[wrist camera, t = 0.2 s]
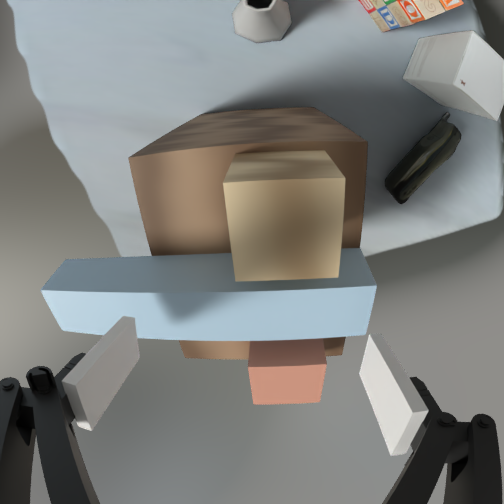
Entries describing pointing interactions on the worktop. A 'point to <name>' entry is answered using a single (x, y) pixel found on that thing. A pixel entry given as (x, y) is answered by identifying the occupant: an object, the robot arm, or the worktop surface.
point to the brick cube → (287, 371)
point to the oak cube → (284, 215)
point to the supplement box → (459, 73)
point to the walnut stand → (212, 192)
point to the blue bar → (208, 299)
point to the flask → (261, 19)
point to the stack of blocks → (405, 11)
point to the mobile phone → (423, 160)
